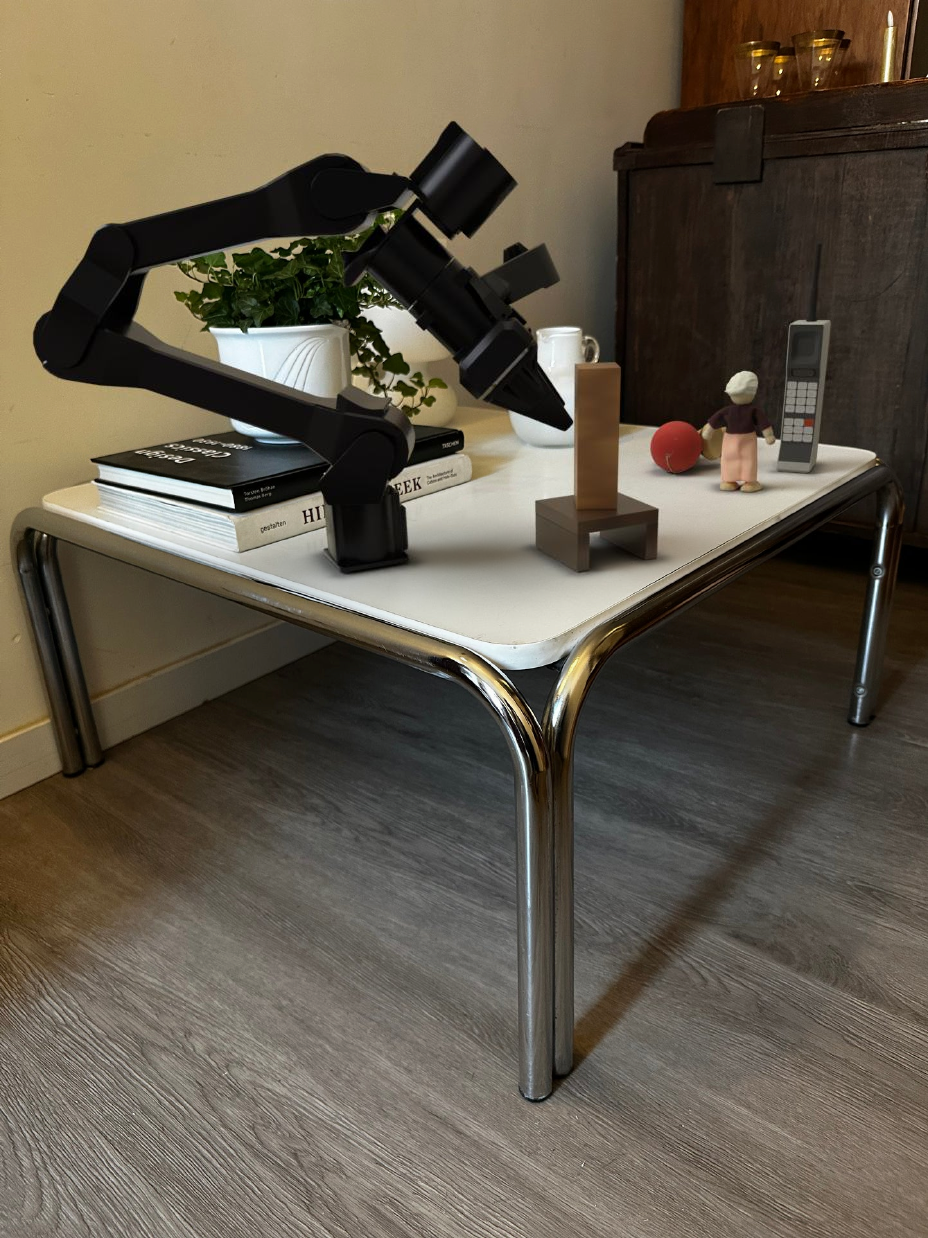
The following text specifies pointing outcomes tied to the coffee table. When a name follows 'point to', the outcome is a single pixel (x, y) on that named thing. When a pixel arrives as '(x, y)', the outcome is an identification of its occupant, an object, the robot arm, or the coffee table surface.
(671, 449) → the kendama
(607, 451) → the block
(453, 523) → the coffee table surface
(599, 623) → the coffee table surface
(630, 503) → the shelf
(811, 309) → the vintage mobile phone
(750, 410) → the grandmother figurine
